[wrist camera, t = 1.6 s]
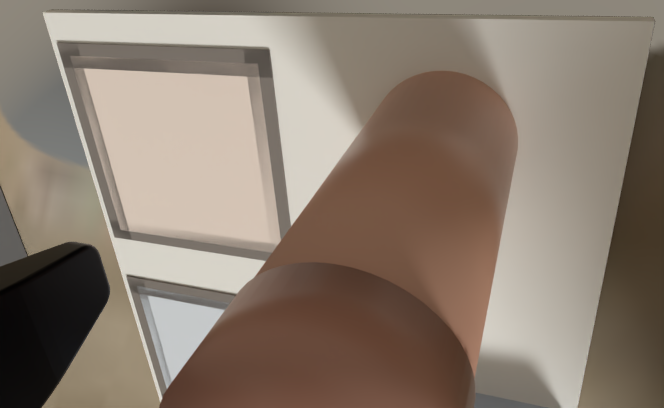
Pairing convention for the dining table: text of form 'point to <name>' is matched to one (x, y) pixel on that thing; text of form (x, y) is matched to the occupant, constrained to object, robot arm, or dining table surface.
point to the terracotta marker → (376, 268)
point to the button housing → (9, 236)
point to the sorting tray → (329, 146)
